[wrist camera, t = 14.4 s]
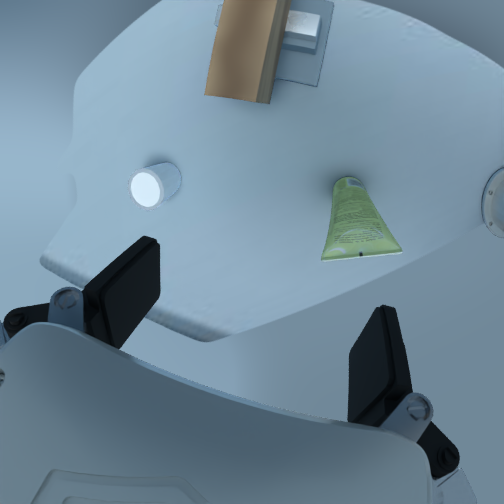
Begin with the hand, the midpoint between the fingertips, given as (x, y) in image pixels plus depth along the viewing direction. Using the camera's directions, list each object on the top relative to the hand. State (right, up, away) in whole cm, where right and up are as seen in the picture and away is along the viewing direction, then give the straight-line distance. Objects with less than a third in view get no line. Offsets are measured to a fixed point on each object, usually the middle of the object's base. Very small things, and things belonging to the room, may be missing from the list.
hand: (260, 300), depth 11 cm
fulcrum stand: (+3, +32, +19) cm, 38 cm away
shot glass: (-15, +15, +34) cm, 40 cm away
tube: (+14, +11, +28) cm, 33 cm away
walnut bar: (+1, +28, +12) cm, 31 cm away
